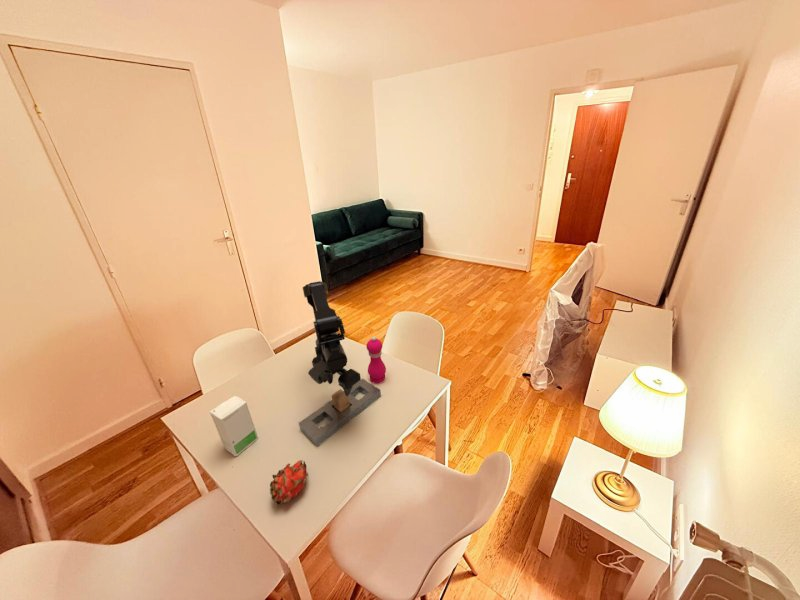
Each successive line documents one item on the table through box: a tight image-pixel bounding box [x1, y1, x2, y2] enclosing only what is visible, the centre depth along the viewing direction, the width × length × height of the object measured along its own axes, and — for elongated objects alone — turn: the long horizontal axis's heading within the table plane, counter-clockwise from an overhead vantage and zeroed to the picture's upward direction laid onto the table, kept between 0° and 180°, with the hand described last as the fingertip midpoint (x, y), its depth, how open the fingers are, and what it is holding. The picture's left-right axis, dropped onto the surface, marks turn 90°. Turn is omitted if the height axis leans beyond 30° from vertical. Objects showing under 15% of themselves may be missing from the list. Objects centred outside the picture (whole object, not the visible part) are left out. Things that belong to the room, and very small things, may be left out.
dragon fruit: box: [269, 459, 309, 506], centre depth 80 cm, size 8×8×12 cm
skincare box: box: [209, 395, 259, 457], centre depth 92 cm, size 8×7×16 cm
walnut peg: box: [331, 388, 350, 414], centre depth 103 cm, size 4×4×8 cm
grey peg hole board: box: [298, 378, 382, 447], centre depth 105 cm, size 10×28×3 cm, turn 138°
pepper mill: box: [366, 336, 387, 385], centre depth 116 cm, size 7×7×20 cm
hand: (338, 389), depth 100 cm, fingers open, 9 cm apart
